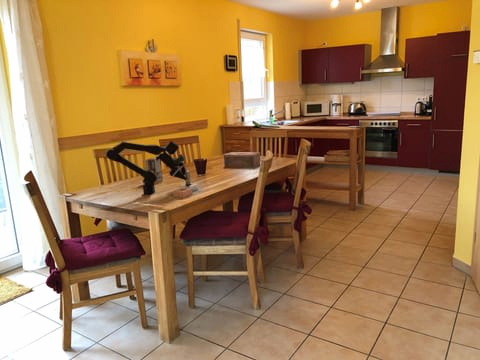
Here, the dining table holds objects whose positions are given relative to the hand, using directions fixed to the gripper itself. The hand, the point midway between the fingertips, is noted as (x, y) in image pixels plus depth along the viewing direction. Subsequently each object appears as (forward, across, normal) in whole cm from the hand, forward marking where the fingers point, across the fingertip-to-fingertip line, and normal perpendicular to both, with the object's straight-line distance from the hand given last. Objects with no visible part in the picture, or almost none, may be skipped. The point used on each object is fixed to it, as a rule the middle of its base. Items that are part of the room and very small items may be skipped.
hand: (187, 177), depth 233 cm
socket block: (+6, 0, +6) cm, 8 cm away
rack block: (+5, -12, +6) cm, 14 cm away
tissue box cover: (+26, +83, -12) cm, 88 cm away
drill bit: (+6, 0, +6) cm, 8 cm away
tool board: (+6, -6, +7) cm, 11 cm away
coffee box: (-15, +32, +28) cm, 45 cm away
